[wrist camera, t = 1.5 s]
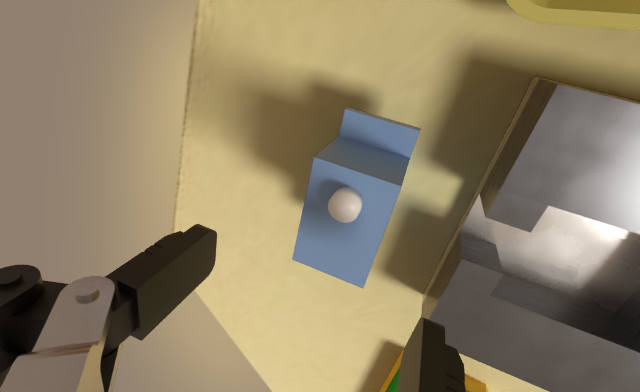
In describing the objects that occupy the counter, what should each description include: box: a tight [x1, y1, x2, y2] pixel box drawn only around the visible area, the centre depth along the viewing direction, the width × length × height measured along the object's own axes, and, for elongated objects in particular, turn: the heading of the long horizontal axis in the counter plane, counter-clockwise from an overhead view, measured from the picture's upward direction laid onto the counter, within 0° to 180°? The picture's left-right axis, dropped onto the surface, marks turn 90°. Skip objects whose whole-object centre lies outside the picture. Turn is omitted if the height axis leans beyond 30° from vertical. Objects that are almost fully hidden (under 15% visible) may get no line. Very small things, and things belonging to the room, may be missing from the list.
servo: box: [292, 107, 421, 288], centre depth 18 cm, size 4×9×8 cm, turn 168°
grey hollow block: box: [421, 76, 640, 392], centre depth 17 cm, size 16×12×4 cm
